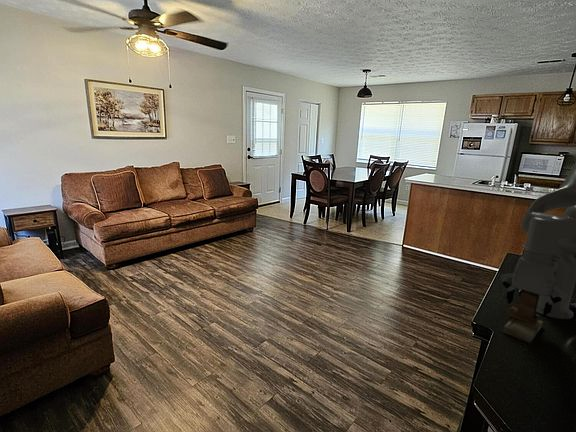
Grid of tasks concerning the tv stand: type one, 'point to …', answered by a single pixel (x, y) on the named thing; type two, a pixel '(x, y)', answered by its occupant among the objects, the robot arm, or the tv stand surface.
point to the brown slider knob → (525, 308)
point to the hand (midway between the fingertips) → (527, 308)
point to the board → (522, 329)
